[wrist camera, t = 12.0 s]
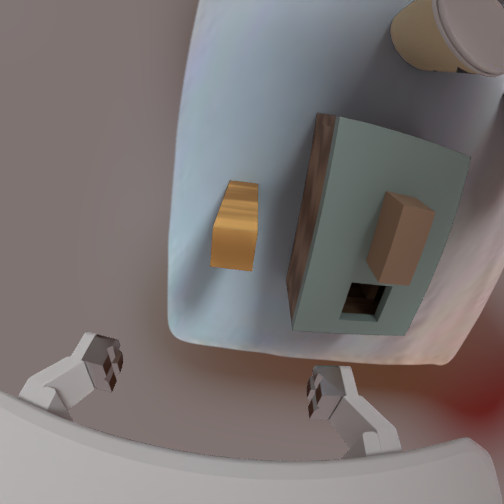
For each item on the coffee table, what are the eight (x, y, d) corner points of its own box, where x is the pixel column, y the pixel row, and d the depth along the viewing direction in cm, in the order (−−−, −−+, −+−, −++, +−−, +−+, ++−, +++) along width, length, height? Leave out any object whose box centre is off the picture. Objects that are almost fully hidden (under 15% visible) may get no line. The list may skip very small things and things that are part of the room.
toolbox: (317, 113, 28) (336, 115, 21) (424, 140, 29) (463, 154, 22) (286, 280, 37) (291, 322, 30) (380, 289, 38) (401, 328, 31)
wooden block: (230, 180, 32) (212, 227, 20) (258, 183, 32) (257, 232, 20) (227, 206, 33) (210, 266, 22) (254, 210, 33) (252, 271, 22)
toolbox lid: (336, 115, 21) (354, 118, 17) (463, 154, 22) (494, 166, 17) (291, 322, 30) (295, 355, 26) (401, 328, 31) (415, 357, 27)
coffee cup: (422, 93, 26) (489, 97, 16) (366, 29, 23) (418, -1, 13) (463, 52, 23) (530, 48, 12) (413, -8, 20) (470, -38, 9)
